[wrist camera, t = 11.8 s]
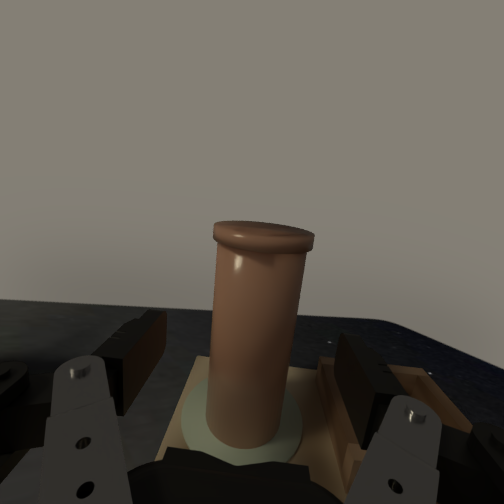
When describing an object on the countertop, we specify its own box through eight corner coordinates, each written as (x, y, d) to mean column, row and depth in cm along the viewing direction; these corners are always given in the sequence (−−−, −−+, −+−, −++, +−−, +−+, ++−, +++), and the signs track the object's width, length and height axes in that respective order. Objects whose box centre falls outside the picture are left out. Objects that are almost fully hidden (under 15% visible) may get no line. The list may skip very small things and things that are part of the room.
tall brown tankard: (280, 372, 24) (302, 223, 21) (287, 459, 16) (324, 244, 13) (214, 364, 24) (226, 215, 21) (191, 447, 16) (203, 230, 13)
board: (419, 391, 25) (428, 360, 24) (552, 564, 14) (578, 516, 13) (196, 364, 26) (198, 333, 25) (140, 509, 14) (140, 459, 13)
